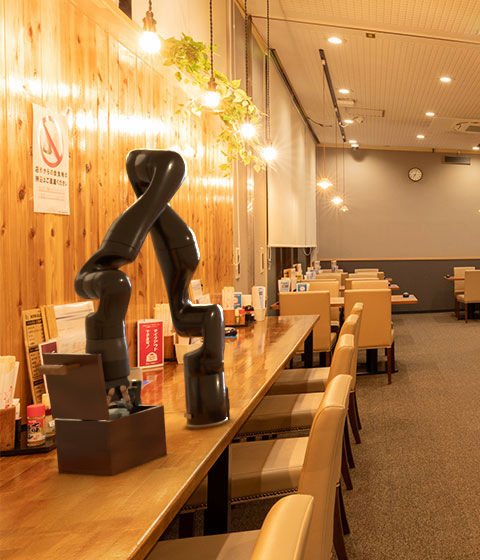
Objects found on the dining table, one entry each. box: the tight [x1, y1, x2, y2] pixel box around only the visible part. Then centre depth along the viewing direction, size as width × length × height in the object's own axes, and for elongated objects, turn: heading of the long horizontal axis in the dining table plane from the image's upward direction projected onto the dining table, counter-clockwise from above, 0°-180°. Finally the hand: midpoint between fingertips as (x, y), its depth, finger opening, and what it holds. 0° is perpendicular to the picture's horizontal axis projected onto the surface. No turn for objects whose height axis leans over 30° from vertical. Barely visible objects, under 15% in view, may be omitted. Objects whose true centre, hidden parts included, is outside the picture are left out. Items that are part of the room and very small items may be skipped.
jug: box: [104, 408, 129, 421], centre depth 146 cm, size 9×6×9 cm, turn 81°
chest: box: [54, 404, 168, 476], centre depth 146 cm, size 14×14×12 cm
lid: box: [37, 352, 110, 420], centre depth 135 cm, size 14×14×5 cm
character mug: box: [127, 366, 144, 405], centre depth 189 cm, size 11×7×13 cm, turn 30°
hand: (112, 430), depth 146 cm, fingers closed on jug, 5 cm apart
